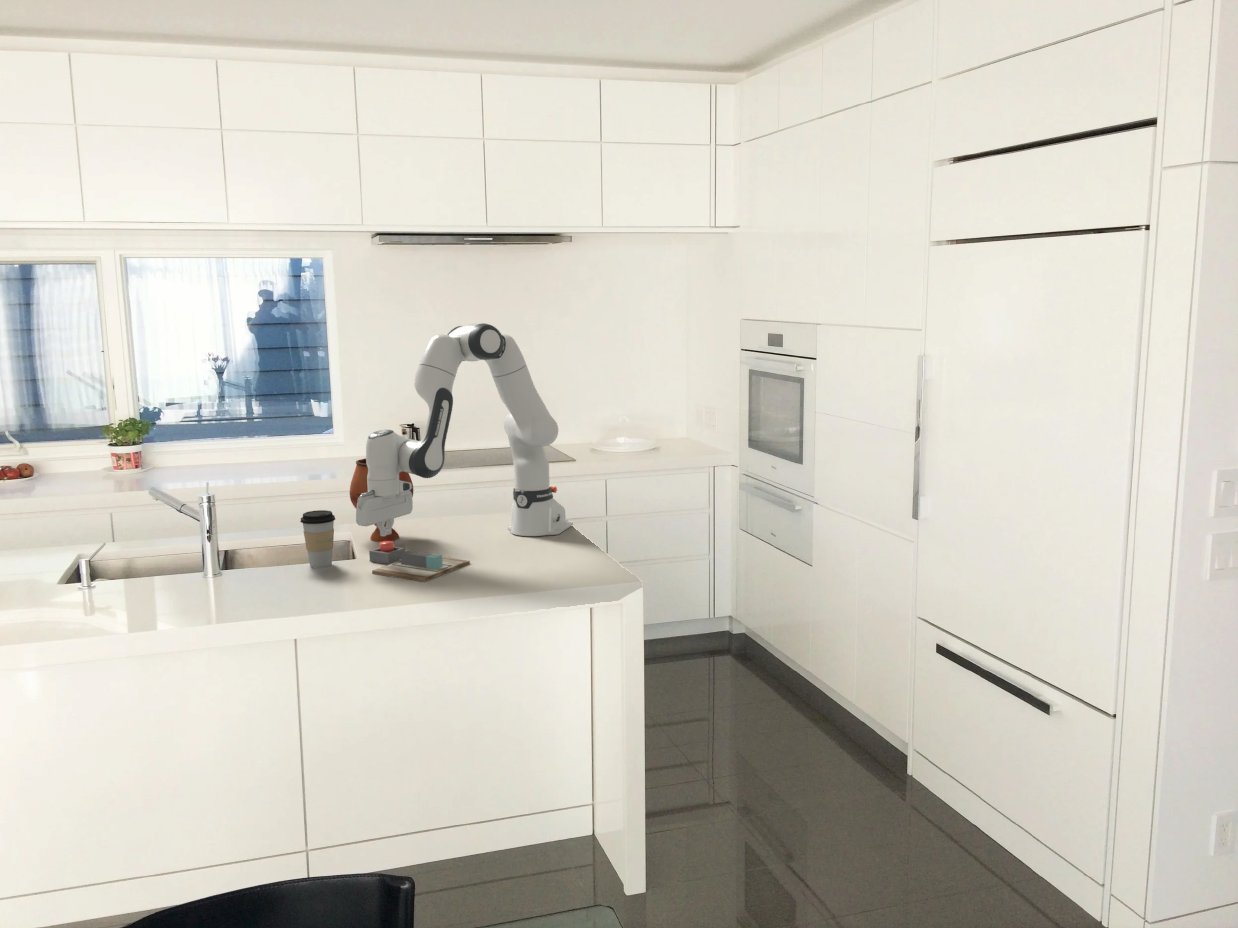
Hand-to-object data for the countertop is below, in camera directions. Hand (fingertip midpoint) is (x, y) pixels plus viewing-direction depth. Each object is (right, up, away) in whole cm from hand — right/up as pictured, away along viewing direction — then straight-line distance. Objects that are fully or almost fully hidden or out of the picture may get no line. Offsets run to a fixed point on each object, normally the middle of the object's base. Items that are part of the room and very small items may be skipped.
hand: (385, 535), depth 288 cm
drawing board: (+12, -9, -8) cm, 17 cm away
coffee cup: (-17, -8, -4) cm, 20 cm away
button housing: (0, -7, +1) cm, 7 cm away
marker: (+12, -8, -9) cm, 17 cm away
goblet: (-7, -3, +26) cm, 27 cm away
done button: (0, -5, +1) cm, 5 cm away
